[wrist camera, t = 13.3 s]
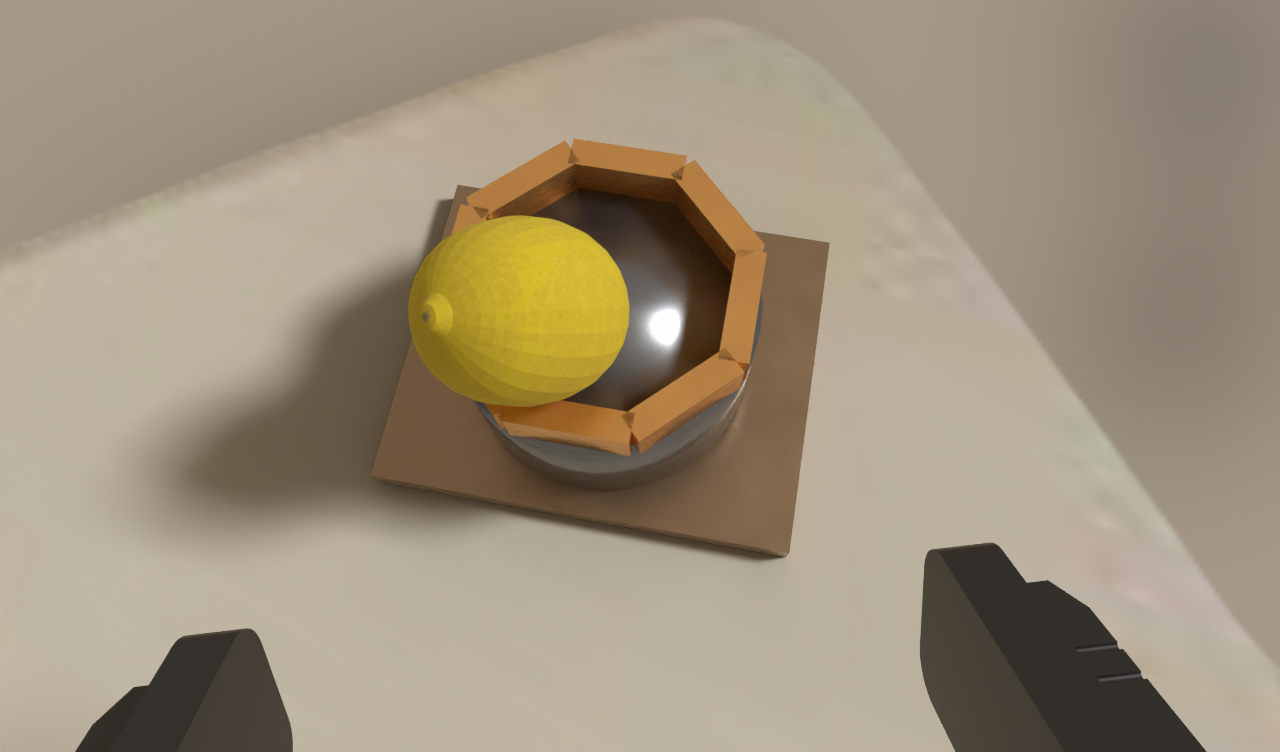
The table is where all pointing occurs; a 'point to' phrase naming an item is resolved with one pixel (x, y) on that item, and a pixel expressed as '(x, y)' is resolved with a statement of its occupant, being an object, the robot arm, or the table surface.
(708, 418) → the pot on wooden stand
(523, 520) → the table surface
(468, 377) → the lemon
